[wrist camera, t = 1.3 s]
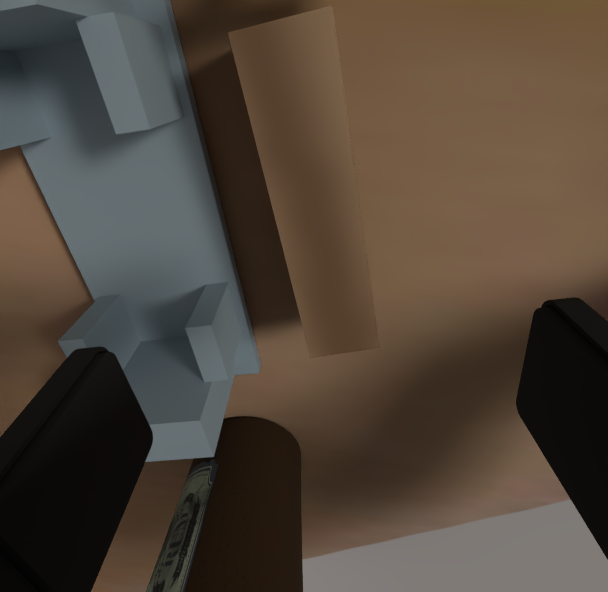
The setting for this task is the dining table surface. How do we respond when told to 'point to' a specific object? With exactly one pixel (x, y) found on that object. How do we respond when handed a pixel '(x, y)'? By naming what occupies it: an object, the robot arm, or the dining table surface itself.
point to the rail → (310, 173)
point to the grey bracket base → (131, 203)
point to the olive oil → (237, 516)
